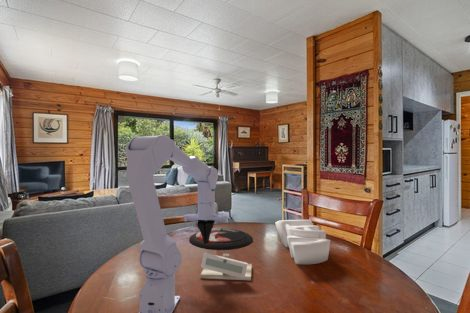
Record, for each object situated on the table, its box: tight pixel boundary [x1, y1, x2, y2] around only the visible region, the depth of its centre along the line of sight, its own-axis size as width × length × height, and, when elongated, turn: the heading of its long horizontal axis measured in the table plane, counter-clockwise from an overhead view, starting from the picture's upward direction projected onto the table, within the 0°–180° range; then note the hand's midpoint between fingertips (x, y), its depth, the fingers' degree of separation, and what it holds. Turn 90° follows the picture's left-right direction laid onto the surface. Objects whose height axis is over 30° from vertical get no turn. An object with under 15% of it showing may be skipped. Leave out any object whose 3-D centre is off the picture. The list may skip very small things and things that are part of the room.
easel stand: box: [200, 253, 253, 281], centre depth 80 cm, size 9×16×7 cm, turn 85°
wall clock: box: [188, 227, 254, 251], centre depth 113 cm, size 27×5×30 cm
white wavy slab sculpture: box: [274, 219, 331, 265], centre depth 99 cm, size 35×16×11 cm, turn 179°
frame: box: [200, 252, 249, 278], centre depth 75 cm, size 2×14×4 cm, turn 85°
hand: (206, 242), depth 80 cm, fingers closed
